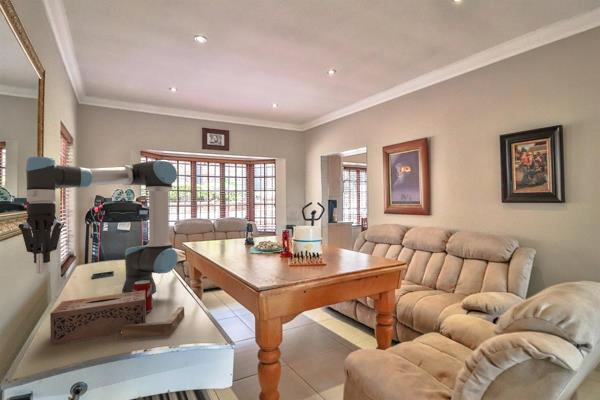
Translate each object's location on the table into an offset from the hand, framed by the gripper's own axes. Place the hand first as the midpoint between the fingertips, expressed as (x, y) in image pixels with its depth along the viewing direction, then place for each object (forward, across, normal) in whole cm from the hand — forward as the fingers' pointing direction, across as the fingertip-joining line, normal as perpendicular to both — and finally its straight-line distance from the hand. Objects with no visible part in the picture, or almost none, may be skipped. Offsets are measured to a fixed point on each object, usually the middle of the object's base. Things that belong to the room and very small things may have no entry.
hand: (42, 272), depth 104 cm
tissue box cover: (+21, +19, 0) cm, 28 cm away
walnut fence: (+20, +36, -2) cm, 42 cm away
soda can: (+21, +26, +16) cm, 37 cm away
